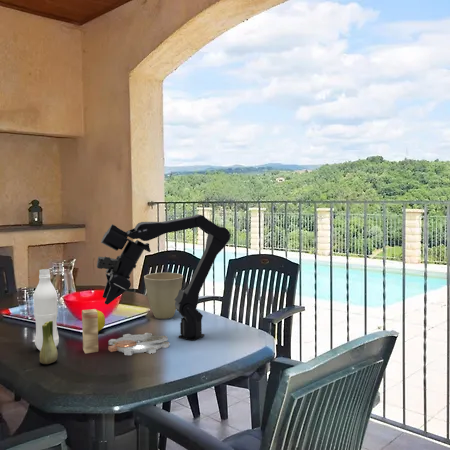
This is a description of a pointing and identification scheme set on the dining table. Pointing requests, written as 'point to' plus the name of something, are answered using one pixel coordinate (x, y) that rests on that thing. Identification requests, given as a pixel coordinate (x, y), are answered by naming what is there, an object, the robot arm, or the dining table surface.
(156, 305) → the plant pot
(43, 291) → the water bottle
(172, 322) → the dining table surface
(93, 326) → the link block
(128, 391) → the dining table surface
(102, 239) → the robot arm
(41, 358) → the fennel bulb
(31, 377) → the dining table surface
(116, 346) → the sprocket plate
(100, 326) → the lemon
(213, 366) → the dining table surface
